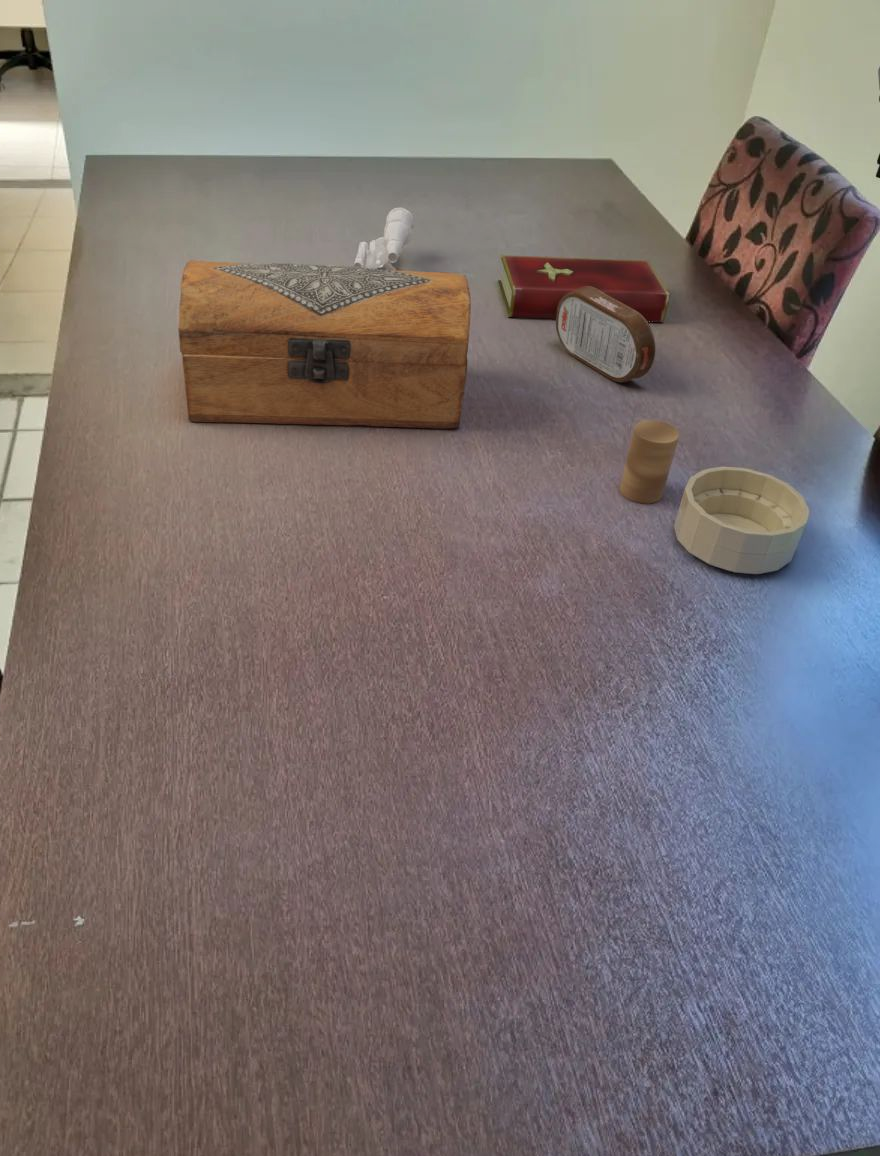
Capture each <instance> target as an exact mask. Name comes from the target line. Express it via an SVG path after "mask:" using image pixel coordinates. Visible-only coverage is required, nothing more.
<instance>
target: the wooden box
mask: <svg viewBox="0 0 880 1156" xmlns="http://www.w3.org/2000/svg"><path fill="white" fill-rule="evenodd" d="M471 301H472V299H471V292H470V286H469V281H468V278H467V276H466V275H463V274H459V273H456V272H455V273H454V272H453V273H452V272H434V271H415V270H414V271H413V270H388V269H381V268H378V269H375V268H362V267H353V266H342V265H341V266H340V265H327V264H321V265H320V264H302V263H289V262H288V263H287V262H285V263H279V262H278V263H276V262H272V263H271V262H267V263H265V262H264V263H261V262H260V263H258V262H252V263H251V262H226V261H225V262H223V261H204V260H193V259H191V260H188V261H187V262H186V264H185V266H184V269H183V272H182V278H181V284H180V299H179V307H178V308H179V309H178V329H177V330H178V338H179V339H178V343H179V352H180V353H181V359H182V368H183V378H184V379H183V381H184V387H185V388H184V390H185V399H186V406H187V407H186V408H187V417H188V421H190V422H195V423H196V422H197V423H244V424H245V423H246V424H247V423H248V424H249V423H250V424H279V425H283V424H284V425H313V426H314V425H315V426H367V427H385V428H386V427H387V428H415V429H438V430H439V429H441V430H442V429H443V430H445V429H457V428H459V427H460V422H461V415H462V409H463V401H464V394H465V388H466V380H467V372H468V363H469V362H468V361H469V360H468V351H469V341H470V328H471V327H470V326H471V309H472V308H471V307H472V306H471V305H472V304H471V303H472V302H471Z"/></svg>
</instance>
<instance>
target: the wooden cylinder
mask: <svg viewBox="0 0 880 1156" xmlns="http://www.w3.org/2000/svg"><path fill="white" fill-rule="evenodd" d="M679 439H680V432H679V430H678V429H677V428H676V427H675V426H673V425H672V424H670V423H668V422H665V421H662V420H656V419H644V420H642V421H638V422H637V423H636V424H635V425H634V427H633V430H632V434H631V439H630V442H629V447H628V451H627V455H626V459H625V464H624V467H623V471H622V475H621V479H620V483H619V487H618V488H619V492H620V494H621V495H622V496H623V497H624V498H626V499H627V500H629V501H632V502H634V503H637V504H646V505H647V504H654V503H657V502H659V501H660V500H661V499H663V495H664V492H665V488H666V485H667V481H668V478H669V474H670V472H671V471H670V470H671V468H672V464H673V460H674V456H675V454H676V450H677V446H678V442H679Z"/></svg>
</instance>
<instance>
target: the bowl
mask: <svg viewBox="0 0 880 1156" xmlns="http://www.w3.org/2000/svg"><path fill="white" fill-rule="evenodd" d="M810 513H811V510H810V508H809V505H808V503H807V501H806V499H805V497H804V496H803V495H802V494H801V493H800V492H799V491H797V490H796V489H795V488H794V487H793V486H792V485H791V484H790V483H787V482H786V481H783V480H782V479H779V478H777V477H775V476H774V475H772V474H769V473H765V472H763V471H758V470H754V469H751V468H748V467H737V466H718V467H710V468H705V469H702V470H700V471H699V472H697V473H695V474H693V475H691V476H690V477H689V479H688V481H687V483H686V485H685V487H684V490H683V493H682V497H681V500H680V503H679V507H678V509H677V514H676V517H675V521H674V523H673V529H674V532H675V537H676V539H677V541H678V542H679V543H680V544H681V545H682V546H683V548H684V549H685V550H686V551H687V552H688V553H689V554H691V555H692V556H694V557H696V558H697V559H700V560H701V561H702V562H705V563H706V564H708V565H710V566H713V567H716V568H719V569H722V570H726V571H728V572H732V573H739V574H748V575H749V574H750V575H751V574H752V575H760V574H765V573H770V572H772V573H773V572H777V571H779V570H781V569H782V568H783V567H785V566H786V565H788V564H789V563H790V562H791V561H792V560H793V558H794V555H795V553H796V551H797V548H798V545H799V543H800V541H801V538H802V535H803V533H804V530H805V528H806V525H807V523H808V521H809V517H810Z"/></svg>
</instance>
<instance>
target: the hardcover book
mask: <svg viewBox="0 0 880 1156" xmlns="http://www.w3.org/2000/svg"><path fill="white" fill-rule="evenodd" d="M500 260H501V263H502V271H501V279H498V280H497V284H498V283H499V285H498V288H499V287H500V288H499V292H500V291H501V292H500V295H501V294H502V295H501V298H502V297H503V298H502V301H503V300H504V302H503V305H504V304H505V305H504V308H505V307H506V308H505V311H506V310H507V311H506V314H508V315H507V317H520V318H519V319H534V318H544V319H543V320H546V319H545V318H549V319H548V320H556V314H557V308H558V304H559V302H560V300H561V299H562V297H564V296H565V295H566V294H568V293H570V292H572V291H575V290H578V289H579V288H581V287H585V286H590V287H594V288H596V289H598V290H599V291H601V292H603V293H605V294H606V295H608V296H610V297H612V298H614V299H615V300H617V301H619V302H621V303H623V304H625V305H626V306H628V307H630V308H632V309H634V310H636V311H637V312H639V313H640V314H641V315H642V316H643V317H644V318H645V319H646V321H650V322H649V323H652V321H653V322H663V323H664V321H665V318H666V316H667V315H666V314H667V311H668V307H669V302H670V296H671V295H670V294H671V293H670V292H669V291H668V289H667V288H666V286H665V285H664V283H663V282H662V281H663V280H662V279H661V278H660V277H659V275H658V273H657V272H656V270H655V268H654V267H653V265H652V263H651V262H650V260H644V259H643V260H642V259H618V258H617V259H615V258H591V257H590V258H589V257H588V258H587V257H563V256H541V255H539V256H538V255H537V256H536V255H513V254H511V255H510V254H501V256H500ZM554 318H555V319H554Z"/></svg>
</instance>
